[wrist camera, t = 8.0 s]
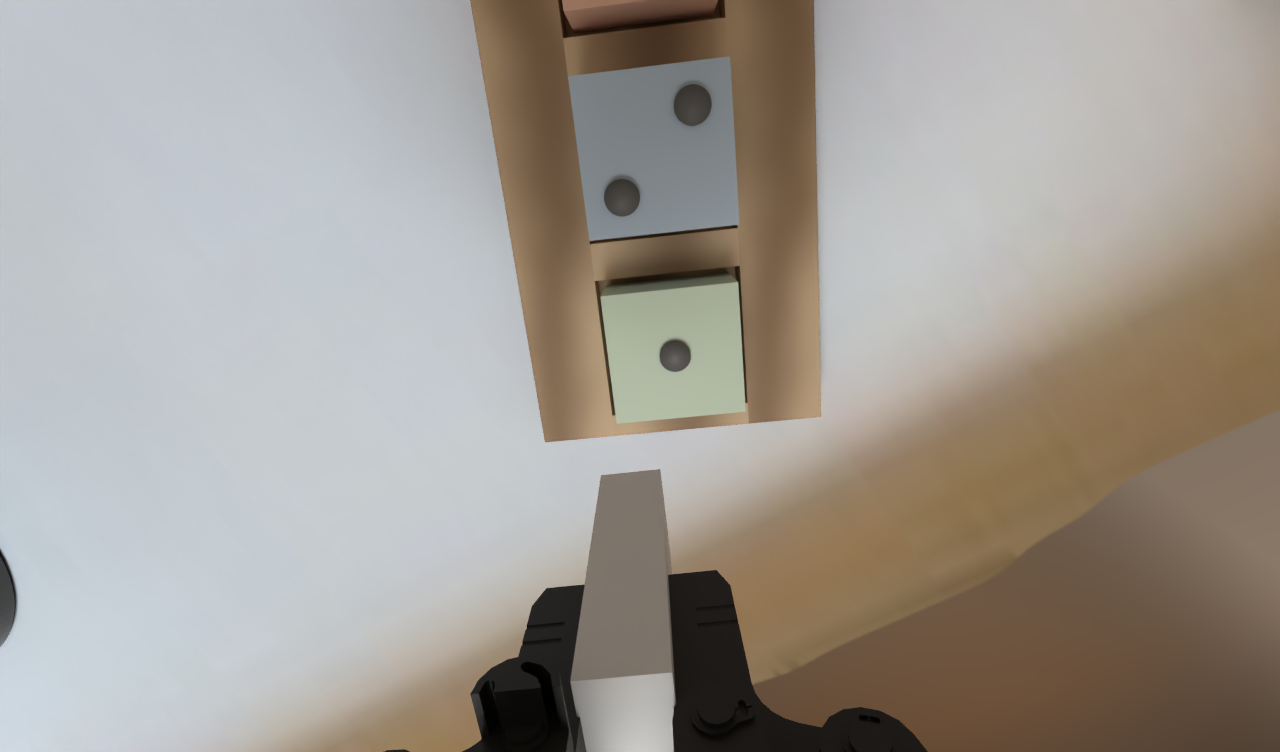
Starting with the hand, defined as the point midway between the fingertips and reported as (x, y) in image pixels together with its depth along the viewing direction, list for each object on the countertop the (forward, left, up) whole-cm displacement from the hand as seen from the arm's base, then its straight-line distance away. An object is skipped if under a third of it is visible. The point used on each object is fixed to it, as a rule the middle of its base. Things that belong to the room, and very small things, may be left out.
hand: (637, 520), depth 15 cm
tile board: (+1, +9, -17) cm, 19 cm away
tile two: (+1, +9, -14) cm, 17 cm away
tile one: (+1, +1, -16) cm, 16 cm away
